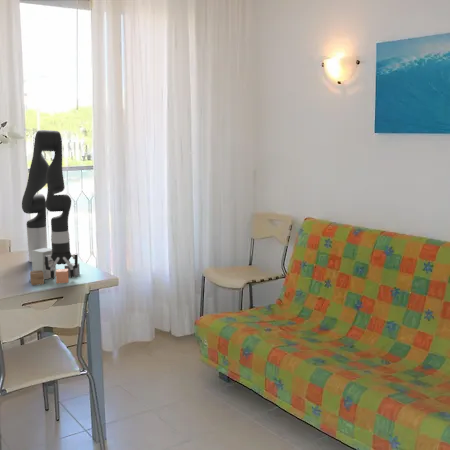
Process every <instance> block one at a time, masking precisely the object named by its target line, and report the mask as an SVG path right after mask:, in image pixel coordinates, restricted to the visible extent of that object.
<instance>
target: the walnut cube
mask: <svg viewBox="0 0 450 450" xmlns="http://www.w3.org/2000/svg"><path fill="white" fill-rule="evenodd" d="M29 278H30V284H31V286H38V285H39V284H40V285H44V284H45V280H44V275H43V271H42V270H40V271H33V270H31V271H29Z"/></svg>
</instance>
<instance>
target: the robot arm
mask: <svg viewBox="0 0 450 450" xmlns="http://www.w3.org/2000/svg"><path fill="white" fill-rule="evenodd" d="M42 152H53V153H54V155H53V156H54V157H53V159H52V161H51V163H50V165H49V163H48V161H47V160H46V159H45V157H44V155H43V153H42ZM32 153H33V154H32V158H31V162H30V166H29V170H28V171H29V172H28V177H27V182H26V187H25V191H24V192H23V196H22V200H21V208H22V209H21V210H22V211H23V212H24V214H28V215H30V214H36V215H35V217H33V218H31V219H29V220H27V221H26V235H27V237H26V238H27V253H28V255H27V256H28V262H30V263H32V251H33V250H37V249H42V248H48V236H47V235H48V234H47V211H48V212H49V213H50V212H51V213H52V212H54V213H56V212H62V213H61V214H60V215H58V216H55V217H54V216H53V217H52V218H51V219H50V226H51V228H50V229H51V236H50V243H51V249H52V255H50V256H47V255H46V256H45V266H46V270H50V273H51V278H50V279H52V280H55V277H54V270H53V269H54V267H55V266H56V267H57V266H59V265H68V266H69V267H70V275H71V277H70V279H73V278H74V277H73V276H74V269H75V268H77V267H78V264H79V262H78V253H75V254H72V253H71V245H70V233H69V215H70V211H71V207H72V198H71V196H69V194H59V193H62V192H63V191H64V190H65V187H66V186H65V182H64V181H65V180H64V179H65V178H64V174H63V140H62V135H61V132H60V131H58V130H49V129H48V130H47V129H44V130H43V129H40V130H37V131H36V133H35V136H34V142H33V152H32ZM46 185H47V193H46V194H47V195H46V197H45V195H44V194H42V193H39V192H40V191H41V190H42V189H44V187H45V186H46ZM50 258H52V259H53V261H54V263H53V264H52V266H51V267H49V263H48V261H49V260H50ZM71 258H72V259H73V260H74V263H75V265H72V264H71V263H72V262H71V261H70V260H71Z"/></svg>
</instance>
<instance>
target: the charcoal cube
mask: <svg viewBox="0 0 450 450" xmlns="http://www.w3.org/2000/svg"><path fill="white" fill-rule="evenodd" d="M71 264H72V265H75V262H73V263H72V262H71ZM64 269H68V277H69V278H71V275H70V267H69V266H68V265H67V264H64ZM78 276H80V263H78V267H77V268H75V269H74V276H73V277H72V278H76V277H78Z"/></svg>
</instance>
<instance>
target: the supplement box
mask: <svg viewBox="0 0 450 450" xmlns="http://www.w3.org/2000/svg"><path fill="white" fill-rule="evenodd" d="M46 255H47V256H50V255H52V248H48V247H47V248H42V249H37V250H33V251H32V262H31V265H32V266H31V268H32V269H31V271H40V270H42V271H43V275H44V281H45V280H48V279H52V278H51V273H50V270H46V266H45V256H46ZM48 263H49V267H51V266H52V264H53V263H54V261H53V259H52V258H50V260H49V261H48ZM56 267H57V265H56V266H55V267H54V269H53V270H54V278H56V269H57V268H56Z"/></svg>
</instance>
